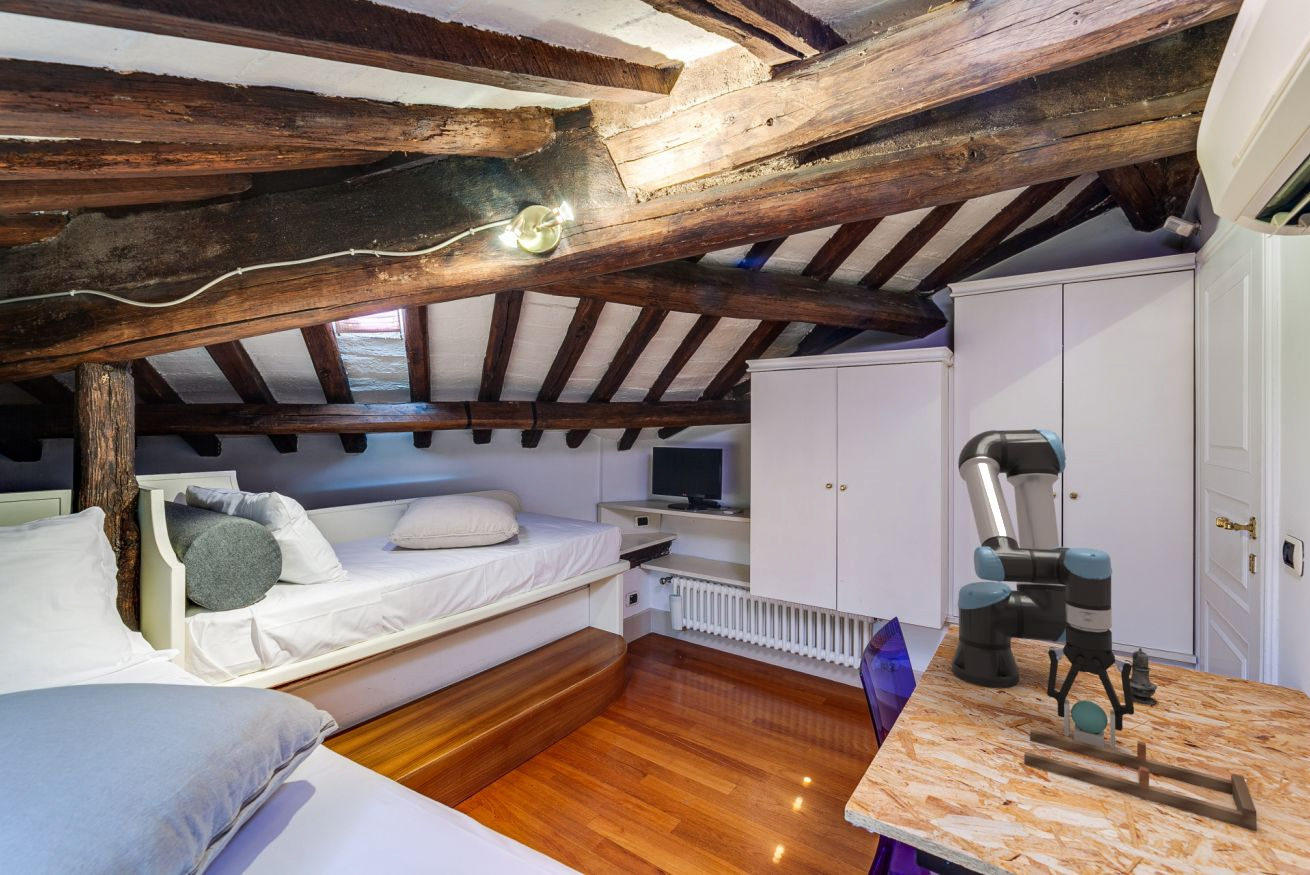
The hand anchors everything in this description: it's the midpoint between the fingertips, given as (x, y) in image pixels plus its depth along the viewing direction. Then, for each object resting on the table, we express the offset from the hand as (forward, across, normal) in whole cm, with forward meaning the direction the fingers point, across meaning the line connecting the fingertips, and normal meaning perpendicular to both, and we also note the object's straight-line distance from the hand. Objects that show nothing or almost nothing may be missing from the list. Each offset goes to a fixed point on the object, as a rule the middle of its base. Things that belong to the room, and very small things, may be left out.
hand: (1089, 738), depth 119 cm
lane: (0, +6, -12) cm, 13 cm away
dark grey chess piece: (0, +9, +28) cm, 30 cm away
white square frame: (0, 0, 0) cm, 0 cm away
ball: (-4, 0, 0) cm, 4 cm away
